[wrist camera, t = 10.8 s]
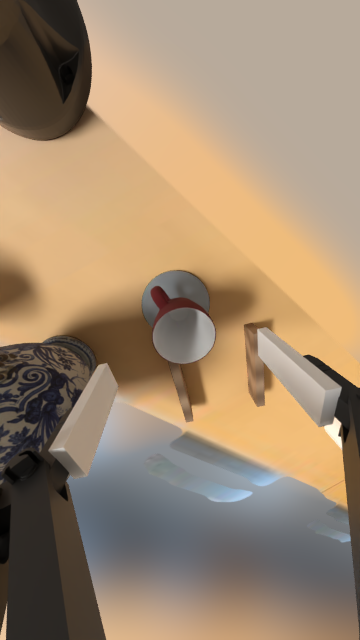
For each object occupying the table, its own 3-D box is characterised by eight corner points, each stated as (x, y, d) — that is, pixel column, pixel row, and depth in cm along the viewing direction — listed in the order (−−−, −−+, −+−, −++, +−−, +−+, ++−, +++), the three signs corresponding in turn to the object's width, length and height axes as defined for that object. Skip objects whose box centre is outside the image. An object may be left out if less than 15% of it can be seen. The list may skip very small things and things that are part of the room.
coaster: (132, 279, 28) (132, 280, 27) (203, 263, 28) (203, 263, 27) (152, 340, 32) (152, 342, 32) (213, 327, 32) (213, 328, 32)
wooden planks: (165, 342, 33) (165, 354, 29) (252, 322, 32) (263, 332, 29) (184, 406, 40) (186, 422, 36) (255, 390, 39) (264, 405, 36)
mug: (135, 302, 29) (121, 325, 20) (168, 267, 27) (169, 276, 18) (178, 339, 32) (183, 374, 23) (210, 310, 30) (229, 336, 21)
